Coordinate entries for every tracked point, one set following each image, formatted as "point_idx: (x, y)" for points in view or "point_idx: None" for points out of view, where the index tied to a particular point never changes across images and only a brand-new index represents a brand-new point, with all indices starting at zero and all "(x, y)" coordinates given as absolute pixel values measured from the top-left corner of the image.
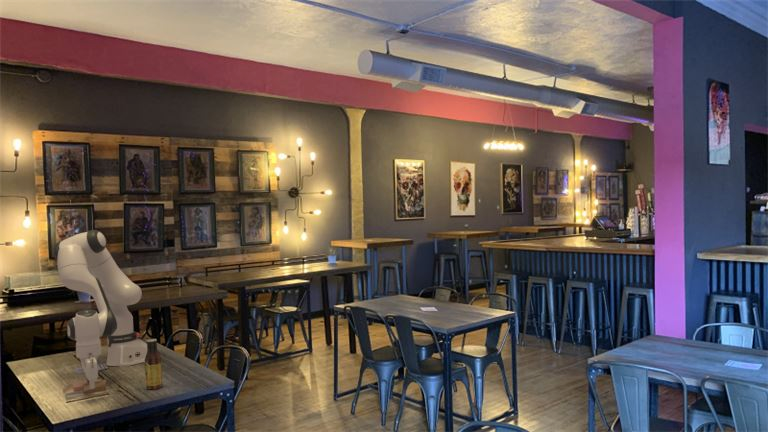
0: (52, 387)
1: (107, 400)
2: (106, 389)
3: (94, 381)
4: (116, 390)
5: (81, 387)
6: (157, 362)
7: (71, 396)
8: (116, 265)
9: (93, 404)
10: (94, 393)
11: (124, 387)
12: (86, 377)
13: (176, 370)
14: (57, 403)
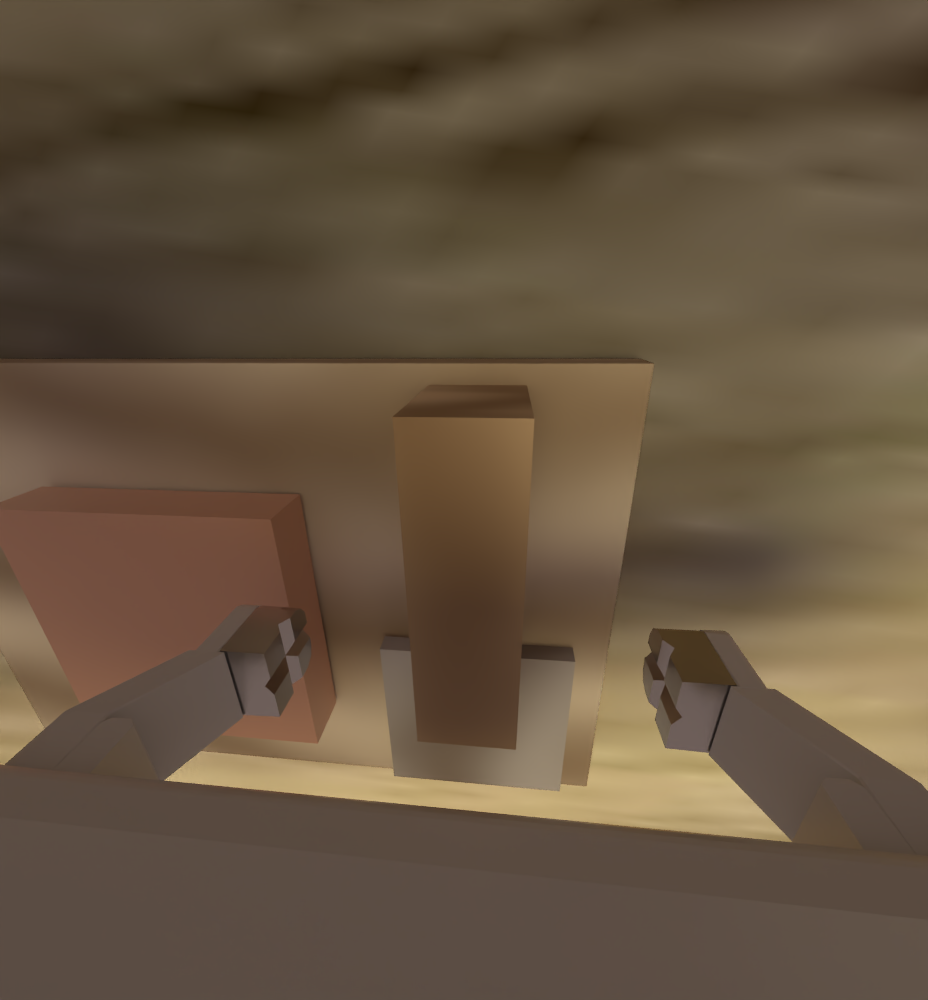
0: (9, 749)
1: (917, 420)
2: (492, 380)
3: (861, 757)
4: (488, 212)
5: (309, 667)
6: None
7: (552, 761)
8: None
9: (900, 587)
10: (568, 549)
11: (393, 27)
12: (224, 730)
13: None
14: (523, 794)
